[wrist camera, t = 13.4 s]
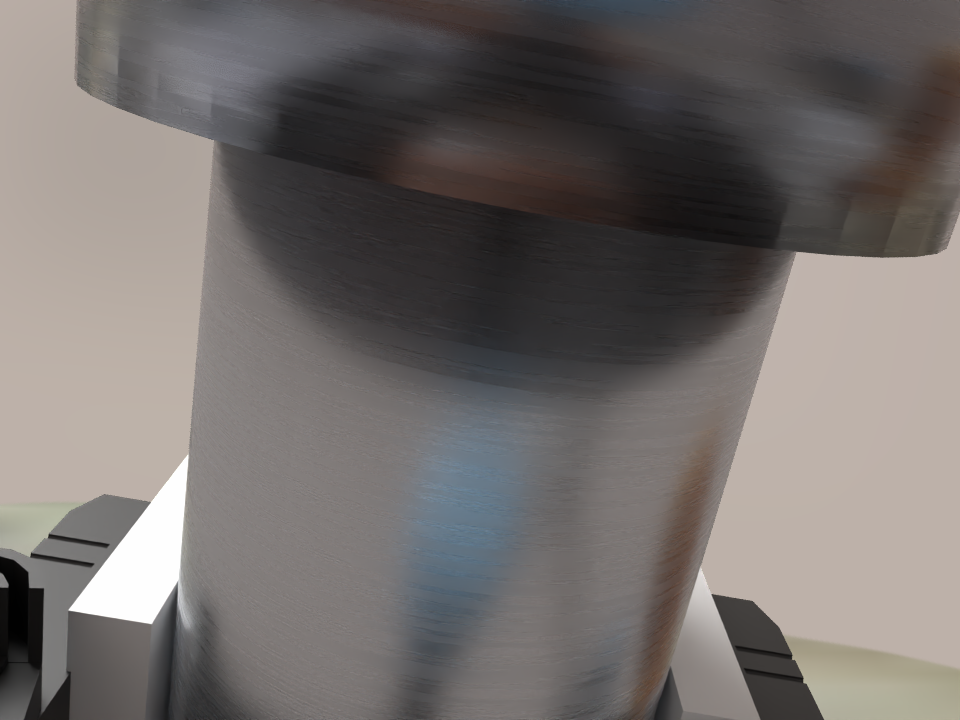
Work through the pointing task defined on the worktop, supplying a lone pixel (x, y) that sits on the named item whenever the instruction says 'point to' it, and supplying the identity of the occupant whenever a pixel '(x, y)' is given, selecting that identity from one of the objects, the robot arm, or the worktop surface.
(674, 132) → the metal plug
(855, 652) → the worktop surface
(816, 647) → the worktop surface
